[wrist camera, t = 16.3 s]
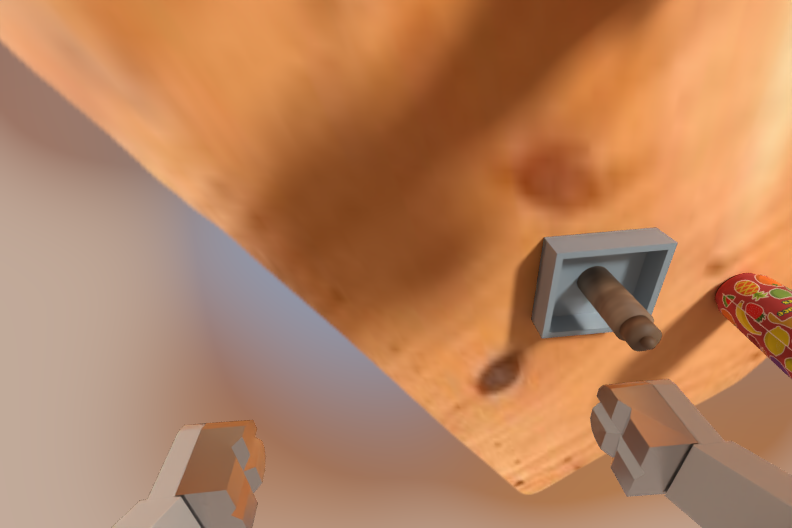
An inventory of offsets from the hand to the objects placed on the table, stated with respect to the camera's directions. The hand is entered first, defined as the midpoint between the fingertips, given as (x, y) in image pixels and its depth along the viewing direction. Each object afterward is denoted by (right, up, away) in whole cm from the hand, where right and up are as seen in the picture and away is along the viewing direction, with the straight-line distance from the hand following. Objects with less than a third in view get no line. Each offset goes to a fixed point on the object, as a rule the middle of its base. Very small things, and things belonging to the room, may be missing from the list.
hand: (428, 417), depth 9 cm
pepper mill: (+24, +2, +40) cm, 47 cm away
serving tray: (+24, +2, +41) cm, 47 cm away
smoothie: (+45, 0, +44) cm, 63 cm away
